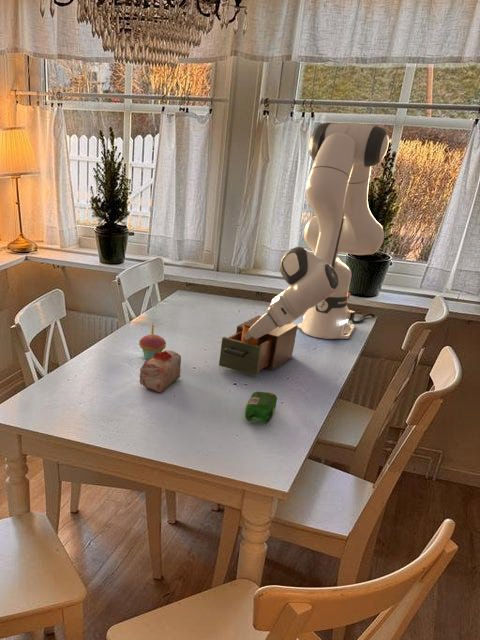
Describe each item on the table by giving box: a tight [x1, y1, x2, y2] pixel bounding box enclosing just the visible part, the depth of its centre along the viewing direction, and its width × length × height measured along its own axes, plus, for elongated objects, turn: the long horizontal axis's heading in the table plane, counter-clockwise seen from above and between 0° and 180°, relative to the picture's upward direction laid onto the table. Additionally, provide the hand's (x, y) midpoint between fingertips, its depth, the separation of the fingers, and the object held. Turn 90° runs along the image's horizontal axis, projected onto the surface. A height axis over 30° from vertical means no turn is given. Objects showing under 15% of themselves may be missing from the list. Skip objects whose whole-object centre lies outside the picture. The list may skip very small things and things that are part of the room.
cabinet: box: [235, 315, 299, 371], centre depth 208 cm, size 15×14×11 cm
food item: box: [139, 349, 182, 393], centre depth 187 cm, size 14×8×10 cm, turn 151°
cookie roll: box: [241, 320, 258, 345], centre depth 197 cm, size 5×5×8 cm
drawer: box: [218, 330, 274, 377], centre depth 199 cm, size 18×13×9 cm
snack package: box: [244, 390, 278, 424], centre depth 173 cm, size 7×16×5 cm, turn 161°
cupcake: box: [138, 322, 167, 360], centre depth 205 cm, size 9×8×12 cm
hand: (248, 334), depth 197 cm, fingers closed on cookie roll, 5 cm apart
